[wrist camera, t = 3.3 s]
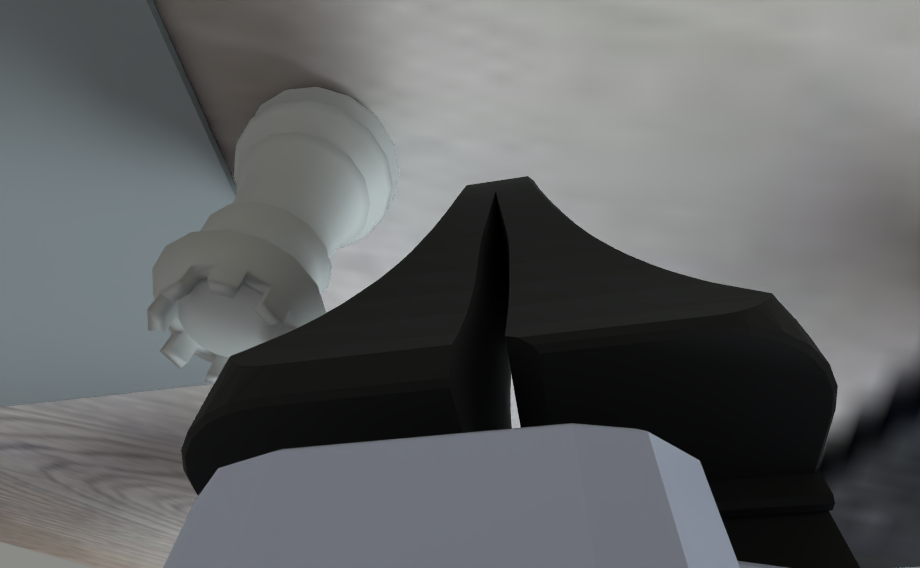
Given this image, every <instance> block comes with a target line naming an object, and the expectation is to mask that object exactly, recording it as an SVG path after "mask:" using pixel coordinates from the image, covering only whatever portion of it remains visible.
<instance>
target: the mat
mask: <svg viewBox="0 0 920 568" xmlns="http://www.w3.org/2000/svg"><path fill="white" fill-rule="evenodd" d="M236 194H237V191H236V185H235V183H234V180H233V178H232V176H231V174H230V171H229V169H228V167H227V165H226V162H225V160H224V158H223V156H222V154H221V151H220V149H219V147H218V145H217V142H216V140H215V138H214V136H213V133H212V131H211V129H210V127H209V125H208V122H207V120H206V118H205V116H204V113H203V111H202V109H201V107H200V104H199V102H198V100H197V98H196V96H195V93H194V91H193V89H192V87H191V84H190V82H189V80H188V78H187V75H186V73H185V71H184V69H183V67H182V64H181V62H180V60H179V58H178V55H177V53H176V51H175V49H174V46H173V44H172V42H171V40H170V37H169V35H168V33H167V31H166V29H165V26H164V24H163V22H162V20H161V17H160V15H159V13H158V11H157V8H156V6H155V4H154V2H153V0H0V407H4V406H13V405H23V404H32V403H41V402H50V401H59V400H68V399H77V398H87V397H96V396H105V395H114V394H123V393H132V392H142V391H151V390H160V389H169V388H178V387H187V386H196V385H206V384H214V383H209V382H205V378H206V375H207V372H208V370H209V369H210V367H211V365H212V363H210V362H208V361H206V360H204V359H202V358H200V357H198V356H196V355H194V354H193V355H192V357H191V359H190V360H189V362H188V363H186V364H185V365H184V366H183V367H181V368H180V369H179V368H178V367H177V366H176V365H174V364H173V363H172V362H171V361H170V360H169V359H168V358H167V357H166V356H164V355H163V354H162V353H161V352H160V350H161V349H162V347H163V346H164V344H165V343H166V342H167V340H168V339H169V337H170V336H171V333H170V331H169V329H168V328H167V329H166V331H165V332H160V331H149V330H148V318H147V309H148V308H149V307H150V305H151V304H152V303H153V302H154V300H155V299H154V296H153V277H152V269H153V267H154V265H155V263H156V262H157V260H158V258H159V256H160V255H161V253H162V251H163V250H164V248H165V246H167V245H169V244H170V243H172V242H174V241H176V240H178V239H180V238H181V237H183V236H185V235H187V234H189V233H191V232H197V231H201V229H202V227H203V226H204V224H205V222H206V221H207V219H208V217H209V216H210V215H211V214H213V213H215V212H216V211H218V210H220V209H222V208H224V207H225V206H227V205H229V204H232V203H233V201H234V199H235V197H236Z"/></svg>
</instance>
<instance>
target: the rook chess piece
mask: <svg viewBox="0 0 920 568" xmlns="http://www.w3.org/2000/svg"><path fill="white" fill-rule="evenodd" d="M399 174H400V172H399V167H398V161H397V156H396V150H395V145H394V143H393V141H392V140H391V138H390V137H389V135H388V133H387V132H386V130H385V129H384V127H383V126H382V124H381V122H380V121H379V119H378V118H377V117H376V116H375V115H374V114H373V113H371V112H370V111H369V110H367V109H366V108H365V107H363V106H362V105H361V104H359V103H358V102H357V101H355V100H354V99H353V98H351V97H350V96H347V95H344V94H341V93H337V92H334V91H331V90H327V89H324V88H321V87H308V88H298V89H289V90H284V91H283V92H281V93H279V94H278V95H276V96H275V97H273V98H271V99H270V100H268V101H266V102H265V103H263V104H262V105H260V107H259V108H258V110H257V112H256V113H255V115H254V117H252V118H251V119H250V121H249V123H248V124H247V126H246V128H245V129H244V131H243V133H242V134H241V136H240V138H239V140H238V141H237V144H236V149H235V166H234V179H235V182H236V185H237V186H236V191H237V194H236V197H235V199H234V201H233V203H232V204H229V205H227V206H225V207H224V208H222V209H220V210H218V211H216V212H215V213H213V214H211V215H210V216H209V217H208V219H207V221H206V222H205V224H204V226H203V227H202V229H201V231H197V232H191V233H189V234H187V235H185V236H183V237H181V238H180V239H178V240H176V241H174V242H172V243H170V244H169V245H167V246H165V248H164V250H163V251H162V253H161V255H160V256H159V258H158V260H157V262H156V263H155V265H154V267H153V269H152V277H153V296H154V299H155V300H154V302H153V303H152V304H151V305H150V307H149V308H148V309H147V318H148V330H149V331H160V332H165V331H166V329H167V328H168V329H169V331H170V333H171V336H170V337H169V339H168V340H167V342H166V343H165V344H164V346H163V347H162V349H161V350H160V352H161V353H162V354H163V355H164V356H166V357H167V358H168V359H169V360H170V361H171V362H172V363H173V364H174V365H176V366H177V367H178V368H179V369H180V368H181V367H183V366H184V365H185V364H186V363H188V362H189V360H190V359H191V357H192V355H193V354H194V355H196V356H198V357H200V358H202V359H204V360H206V361H208V362H210V363H212V365H211V367H210V369H209V370H208V372H207V375H206V378H205V382H209V383H215V382H216V380H217V378H218V376H219V374H220V373H221V371H222V369H223V367H224V365H225V364H226V362H227V360H228V359H229V357H230V356H231V355H234V354H237V353H239V352H242V351H245V350H247V349H249V348H252V347H254V346H257V345H259V344H261V343H264V342H266V341H269V340H271V339H273V338H276V337H278V336H281V335H283V334H285V333H288V332H290V331H292V330H294V329H296V328H298V327H300V326H302V325H304V324H306V323H308V322H310V321H312V320H314V319H316V318H318V317H320V316H322V315H324V314H325V313H326V311H325V308H324V305H323V301H322V298H321V295H322V294H323V293H324V291H325V290H326V289H327V288H328V284H329V279H330V274H331V268H332V267H331V263H330V260H329V259H330V257H331V256H332V255H333V253H334V252H335V250H336V249H338V248H343V247H345V246H347V245H349V244H351V243H353V242H355V241H357V240H359V239H361V238H363V237H365V236H366V235H368V234H369V233H370V232H371V231H372V230H373V228H374V227H375V226H376V225H377V224H378V222H379V221H380V220H381V219H382V218H383V216H384V215H385V214H386V213H387V209H388V205H389V204H390V203H391V202H392V200H393V198H394V194H395V190H396V186H397V182H398V178H399Z"/></svg>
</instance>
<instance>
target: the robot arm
mask: <svg viewBox="0 0 920 568" xmlns="http://www.w3.org/2000/svg"><path fill="white" fill-rule="evenodd" d="M511 374H512V380H513V385H514V391H515V397H516V402H517V408H518V414H519V420H520V425H521V428H513V429H512V427H511V412H510V387H511ZM836 397H837V383H836V381H835V378H834V375H833V372H832V370H831V367H830V364H829V363H828V361H827V360H826V359H825V357H824V356H823V355H822V353H821V352H820V350H819V349H818V348H817V346H816V345H815V343H814V342H813V341H812V339H811V338H810V337H809V335H808V334H807V333H806V332H805V330H804V329H803V328H802V327H801V325H800V324H799V323H798V322H797V320H796V319H795V318H794V317H793V316H792V315H791V314H790V313H789V312H788V311H787V310H786V309H785V308H784V306H783V305H782V304H781V303H780V302H779V301H778V300H777V299H776V298H775V296H774V295H773V294H772V293H766V292H761V291H755V290H750V289H744V288H739V287H733V286H728V285H722V284H717V283H712V282H707V281H703V280H700V279H696V278H692V277H689V276H685V275H682V274H678V273H674V272H671V271H668V270H665V269H662V268H659V267H656V266H654V265H651V264H649V263H646V262H644V261H641V260H639V259H636V258H634V257H632V256H629V255H627V254H625V253H623V252H621V251H619V250H616V249H614V248H613V247H611V246H609V245H607V244H606V243H604V242H602V241H600V240H598V239H597V238H595V237H593V236H592V235H590V234H589V233H587V232H586V231H584V230H583V229H582V228H580V227H579V226H578V225H576V224H575V223H574V222H573V221H572V220H570V219H569V218H568V217H567V216H566V215H565V214H564V213H562V212H561V211H560V210H559V209H558V208H557V207H556V206H555V205H554V204H553V203H552V202H551V201H550V200H549V199H548V198H547V197H546V196H545V195H544V194H543V192H542V191H541V190H540V189H539V188H538V186H537V185H536V184H535V182H534V181H533V180H532V179H531V178H529V177H528V176H527V177H520V178H513V179H507V180H500V181H493V182H487V183H480V184H473V185H467V186H466V187H465V188H464V189H463V191H462V192H461V193H460V195H459V196H458V197H457V199H456V200H455V201H454V203H453V204H452V205H451V207H450V208H449V209H448V211H447V212H446V213H445V215H444V216H443V217H442V218H441V220H440V221H439V222H438V223H437V224H436V226H435V227H434V228H433V229H432V230H431V231H430V232H429V233H428V235H427V236H426V237H425V238H424V239H423V240H422V241H421V242H420V243H419V244H418V245H417V246H416V247H415V249H414V250H413V251H412V252H411V253H409V254H408V255H407V256H406V257H405V258H404V259H403V260H402V261H401V262H400V263H399V264H397V265H396V266H395V267H394V268H392V269H391V270H390V271H389V272H388V273H386V274H385V275H384V276H383V277H381V278H380V279H379V280H377V281H376V282H374V283H373V284H372V285H370V286H369V287H367V288H366V289H364V290H363V291H361V292H360V293H358V294H357V295H355V296H354V297H352V298H351V299H349V300H348V301H346V302H345V303H343V304H341V305H340V306H338V307H336V308H334V309H333V310H331V311H329V312H327V313H325V314H324V315H322V316H320V317H318V318H316V319H314V320H312V321H310V322H308V323H306V324H304V325H302V326H300V327H298V328H296V329H294V330H292V331H290V332H288V333H285V334H283V335H281V336H278V337H276V338H273V339H271V340H269V341H266V342H264V343H261V344H259V345H257V346H254V347H252V348H249V349H247V350H245V351H242V352H239V353H237V354H234V355H231V356H230V357H229V359H228V360H227V362H226V364H225V365H224V367H223V369H222V371H221V373H220V374H219V376H218V378H217V380H216V382H215V383H214V385H213V387H212V389H211V391H210V392H209V394H208V396H207V398H206V400H205V401H204V403H203V405H202V407H201V409H200V411H199V412H198V414H197V416H196V418H195V420H194V421H193V423H192V425H191V427H190V429H189V430H188V432H187V435H186V438H185V441H184V444H183V447H182V450H181V452H182V460H183V468H184V471H185V473H186V475H187V477H188V479H189V481H190V482H191V484H192V486H193V488H194V490H195V491H196V493H197V494H198V497H197V499H196V500H195V502H194V504H193V506H192V508H191V510H190V513H189V515H188V517H187V519H186V521H185V523H184V525H183V527H182V529H181V531H180V533H179V536H178V538H177V540H176V542H175V544H174V546H173V548H172V550H171V552H170V554H169V557H168V559H167V561H166V563H165V565H164V567H163V568H860V567H859V565H858V563H857V561H856V560H855V558H854V556H853V554H852V552H851V550H850V549H849V547H848V545H847V543H846V541H845V540H844V538H843V536H842V534H841V532H840V531H839V529H838V527H837V525H836V523H835V522H834V520H833V518H832V516H831V514H830V512H829V511H830V510H833V507H834V504H835V502H834V497H833V493H832V492H831V490H830V488H829V486H828V485H827V483H826V481H825V479H824V478H823V476H822V474H821V473H820V471H819V469H818V466H819V463H820V459H821V456H822V453H823V449H824V446H825V443H826V439H827V436H828V433H829V429H830V426H831V422H832V419H833V416H834V412H835V408H836ZM907 568H920V567H907Z"/></svg>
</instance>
